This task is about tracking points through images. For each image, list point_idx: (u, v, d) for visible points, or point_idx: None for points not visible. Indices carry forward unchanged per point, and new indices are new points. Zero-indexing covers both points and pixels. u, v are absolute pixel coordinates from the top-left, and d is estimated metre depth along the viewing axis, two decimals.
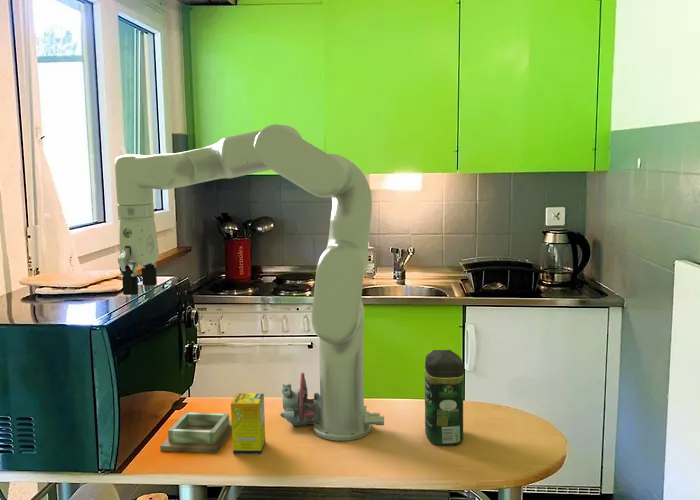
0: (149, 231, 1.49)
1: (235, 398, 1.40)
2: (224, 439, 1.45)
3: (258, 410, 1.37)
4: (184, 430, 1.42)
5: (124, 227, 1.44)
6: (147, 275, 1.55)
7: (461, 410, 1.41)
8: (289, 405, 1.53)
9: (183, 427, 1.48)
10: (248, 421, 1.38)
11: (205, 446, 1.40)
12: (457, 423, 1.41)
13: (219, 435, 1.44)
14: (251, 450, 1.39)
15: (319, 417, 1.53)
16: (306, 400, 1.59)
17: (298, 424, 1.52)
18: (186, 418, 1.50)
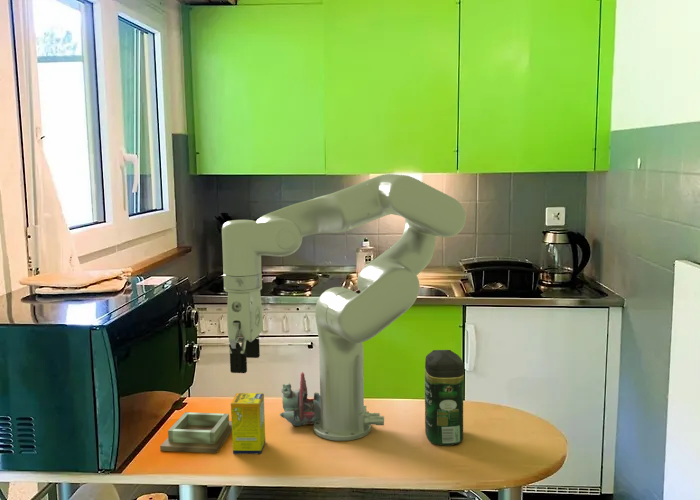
0: (257, 302, 1.37)
1: (235, 398, 1.40)
2: (224, 439, 1.45)
3: (258, 410, 1.37)
4: (184, 430, 1.42)
5: (233, 300, 1.32)
6: (250, 347, 1.43)
7: (461, 410, 1.41)
8: (289, 405, 1.53)
9: (183, 427, 1.48)
10: (248, 421, 1.38)
11: (205, 446, 1.40)
12: (457, 423, 1.41)
13: (219, 435, 1.44)
14: (251, 450, 1.39)
15: (319, 417, 1.53)
16: (306, 400, 1.59)
17: (298, 424, 1.52)
18: (186, 418, 1.50)
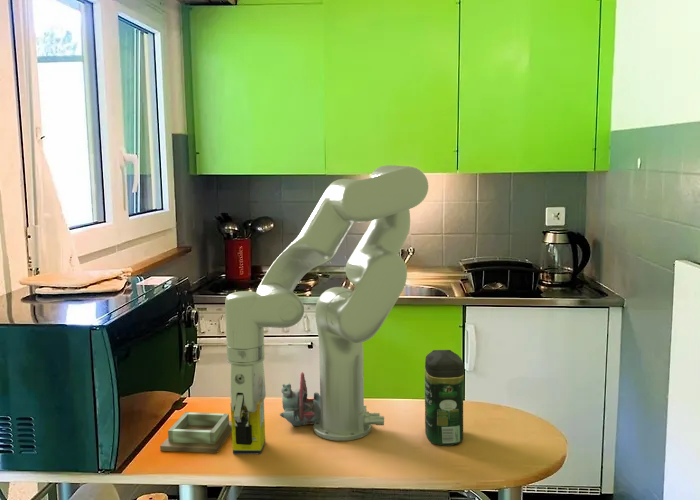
0: (259, 372, 1.39)
1: None
2: (224, 439, 1.45)
3: (258, 410, 1.37)
4: (184, 430, 1.42)
5: (236, 373, 1.35)
6: None
7: (461, 410, 1.41)
8: (289, 405, 1.53)
9: (183, 427, 1.48)
10: None
11: (205, 446, 1.40)
12: (457, 423, 1.41)
13: (219, 435, 1.44)
14: (251, 450, 1.39)
15: (318, 417, 1.53)
16: (306, 400, 1.59)
17: (298, 424, 1.52)
18: (186, 418, 1.50)
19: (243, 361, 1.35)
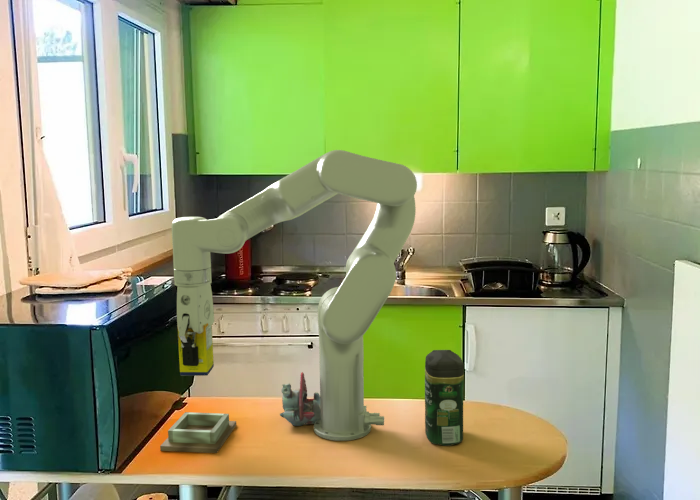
0: (206, 296, 1.42)
1: None
2: (224, 439, 1.45)
3: (204, 332, 1.40)
4: (184, 430, 1.42)
5: (182, 294, 1.38)
6: None
7: (461, 410, 1.41)
8: (289, 405, 1.53)
9: (183, 427, 1.48)
10: None
11: (205, 446, 1.40)
12: (457, 423, 1.41)
13: (219, 435, 1.44)
14: (198, 372, 1.42)
15: (318, 417, 1.53)
16: (306, 400, 1.59)
17: (298, 424, 1.52)
18: (186, 418, 1.50)
19: (189, 283, 1.38)
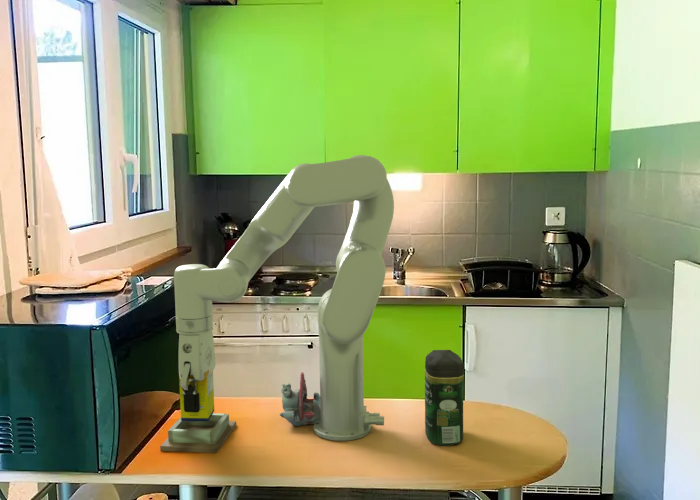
0: (208, 343, 1.44)
1: None
2: (224, 439, 1.45)
3: (205, 379, 1.42)
4: (184, 430, 1.42)
5: (184, 342, 1.39)
6: None
7: (461, 410, 1.41)
8: (289, 405, 1.53)
9: (183, 427, 1.48)
10: None
11: (205, 446, 1.40)
12: (457, 423, 1.41)
13: (219, 435, 1.44)
14: (198, 418, 1.43)
15: (318, 417, 1.53)
16: (306, 400, 1.59)
17: (298, 424, 1.52)
18: None
19: (191, 331, 1.40)
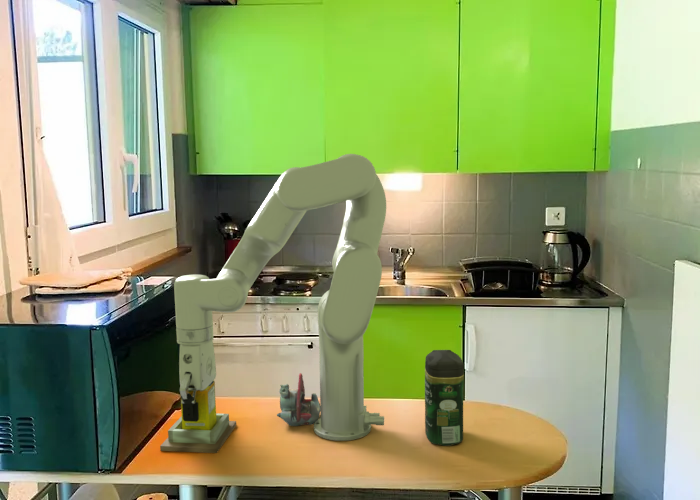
0: (208, 353, 1.44)
1: None
2: (224, 439, 1.45)
3: (206, 396, 1.42)
4: (184, 430, 1.42)
5: (184, 352, 1.40)
6: None
7: (461, 410, 1.41)
8: (286, 406, 1.53)
9: None
10: None
11: (205, 446, 1.40)
12: (457, 423, 1.41)
13: (219, 435, 1.44)
14: None
15: (315, 418, 1.53)
16: (303, 400, 1.59)
17: (295, 425, 1.52)
18: None
19: (191, 341, 1.40)
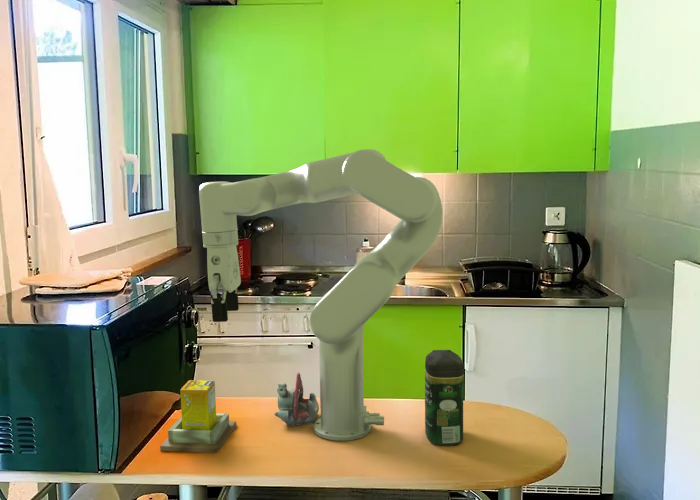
0: (234, 257, 1.49)
1: (186, 385, 1.45)
2: (224, 439, 1.45)
3: (206, 396, 1.42)
4: (184, 430, 1.42)
5: (212, 254, 1.44)
6: (229, 301, 1.55)
7: (461, 410, 1.41)
8: (284, 405, 1.54)
9: None
10: (197, 407, 1.43)
11: (205, 446, 1.40)
12: (457, 423, 1.41)
13: (219, 435, 1.44)
14: None
15: (313, 417, 1.53)
16: (301, 400, 1.59)
17: (292, 424, 1.53)
18: None
19: (218, 244, 1.45)
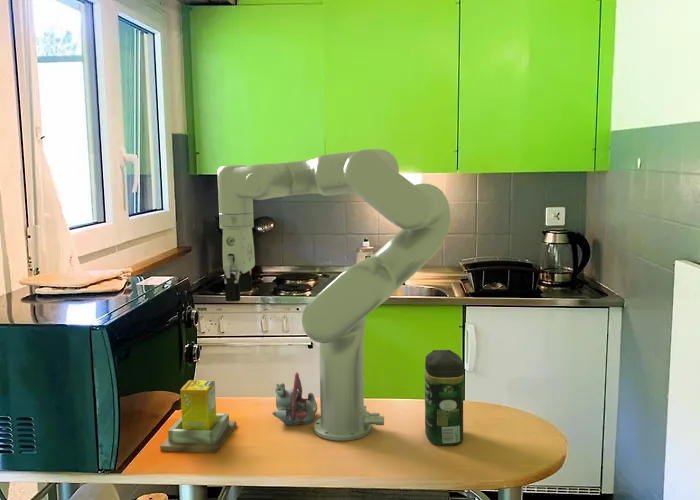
0: (249, 239, 1.52)
1: (186, 385, 1.45)
2: (224, 439, 1.45)
3: (206, 396, 1.42)
4: (184, 430, 1.42)
5: (227, 235, 1.48)
6: (243, 282, 1.59)
7: (461, 410, 1.41)
8: (282, 405, 1.54)
9: None
10: (197, 407, 1.43)
11: (205, 446, 1.40)
12: (457, 423, 1.41)
13: (219, 435, 1.44)
14: None
15: (311, 417, 1.54)
16: (300, 399, 1.60)
17: (290, 423, 1.53)
18: None
19: (234, 225, 1.49)
